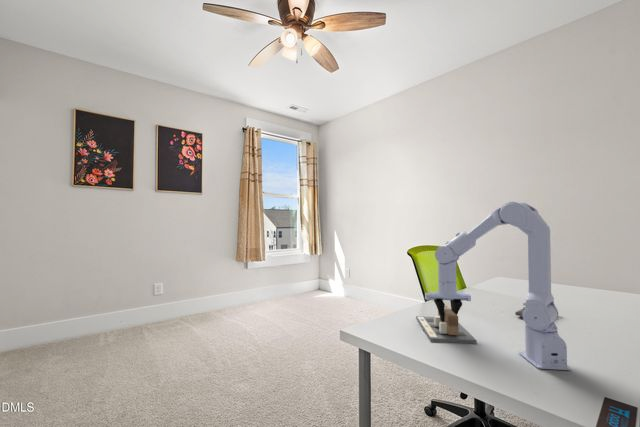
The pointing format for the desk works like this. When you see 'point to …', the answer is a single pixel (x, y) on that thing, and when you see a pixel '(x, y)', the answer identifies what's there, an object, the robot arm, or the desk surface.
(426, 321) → the switch board
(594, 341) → the desk surface
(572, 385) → the desk surface
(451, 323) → the pusher bar
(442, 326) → the beige small block
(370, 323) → the desk surface
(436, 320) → the tab
